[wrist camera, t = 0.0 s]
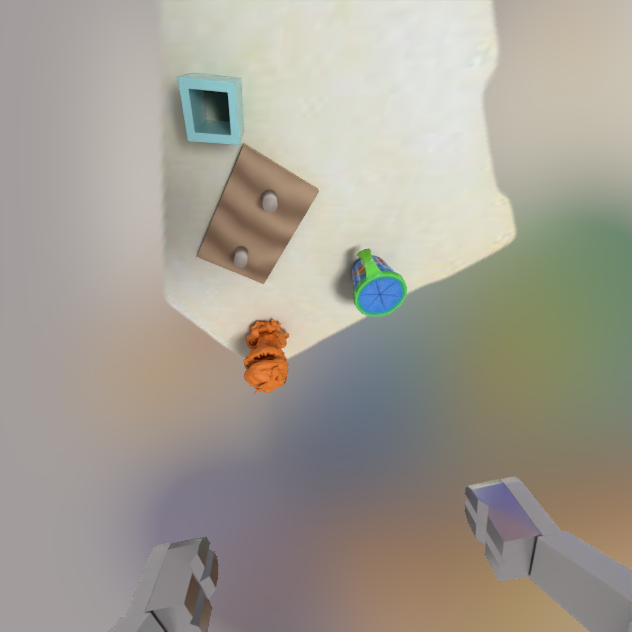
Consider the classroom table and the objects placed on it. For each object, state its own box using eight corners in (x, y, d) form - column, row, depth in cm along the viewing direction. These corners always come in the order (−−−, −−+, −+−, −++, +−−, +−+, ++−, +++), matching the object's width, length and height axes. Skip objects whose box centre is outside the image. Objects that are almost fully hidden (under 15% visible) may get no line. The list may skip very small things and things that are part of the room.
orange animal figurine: (259, 305, 69) (258, 366, 55) (297, 324, 74) (304, 383, 61) (235, 334, 74) (228, 396, 60) (272, 350, 79) (273, 410, 66)
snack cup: (394, 289, 71) (409, 317, 63) (351, 302, 72) (361, 331, 64) (387, 230, 60) (404, 255, 53) (337, 246, 61) (347, 273, 54)
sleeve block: (193, 72, 41) (177, 76, 34) (241, 78, 42) (235, 82, 35) (200, 127, 45) (187, 141, 38) (243, 130, 46) (239, 144, 39)
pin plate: (244, 143, 47) (241, 151, 43) (317, 188, 53) (322, 199, 49) (198, 252, 58) (193, 267, 54) (263, 280, 64) (263, 295, 60)
